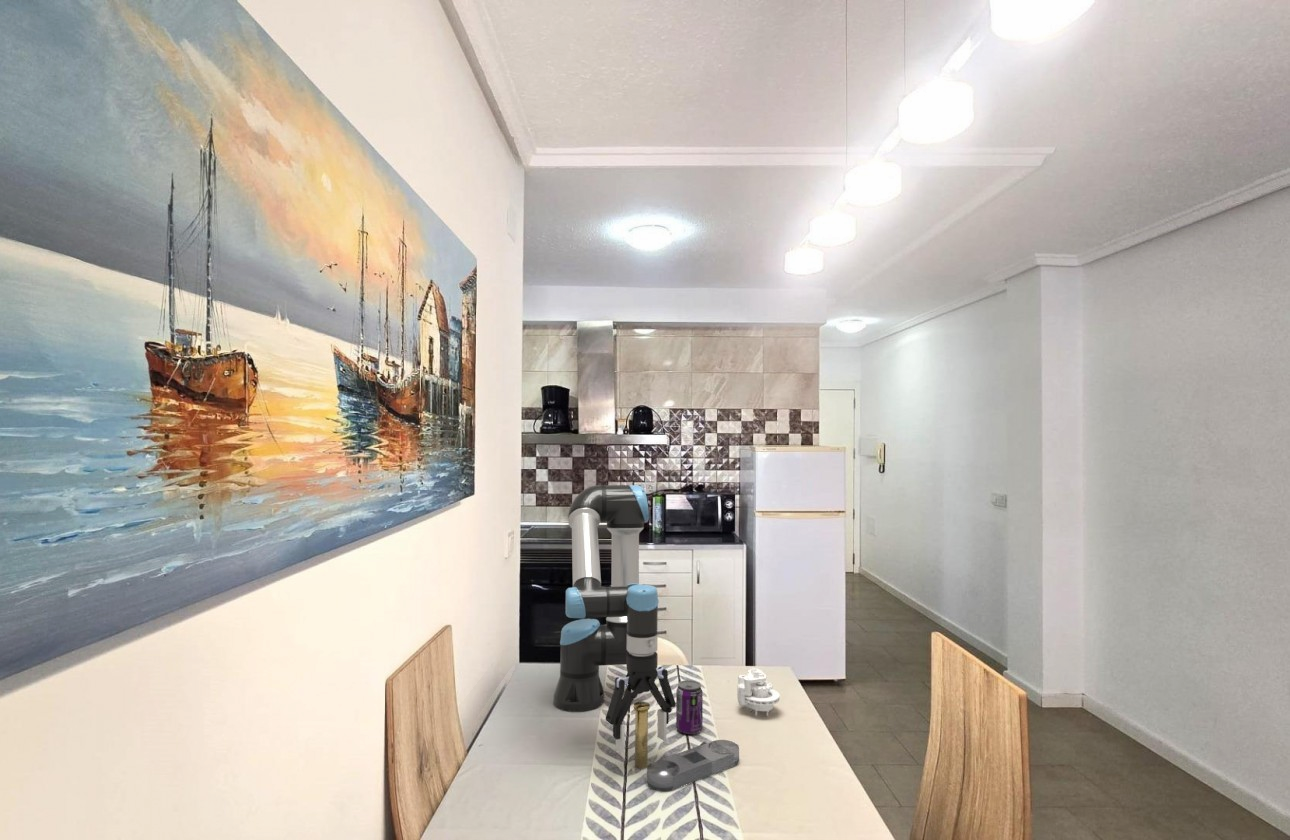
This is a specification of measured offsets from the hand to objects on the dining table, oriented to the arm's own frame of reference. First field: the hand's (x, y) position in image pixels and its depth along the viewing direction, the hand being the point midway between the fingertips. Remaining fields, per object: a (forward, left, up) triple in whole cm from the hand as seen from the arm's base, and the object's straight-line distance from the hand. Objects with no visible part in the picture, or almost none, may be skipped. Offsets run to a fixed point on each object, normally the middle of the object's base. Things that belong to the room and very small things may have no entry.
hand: (641, 745), depth 141 cm
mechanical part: (-6, +45, -5) cm, 46 cm away
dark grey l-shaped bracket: (+3, +19, -5) cm, 20 cm away
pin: (0, 0, -5) cm, 5 cm away
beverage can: (-8, +21, -5) cm, 23 cm away
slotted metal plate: (+9, +9, -5) cm, 14 cm away
